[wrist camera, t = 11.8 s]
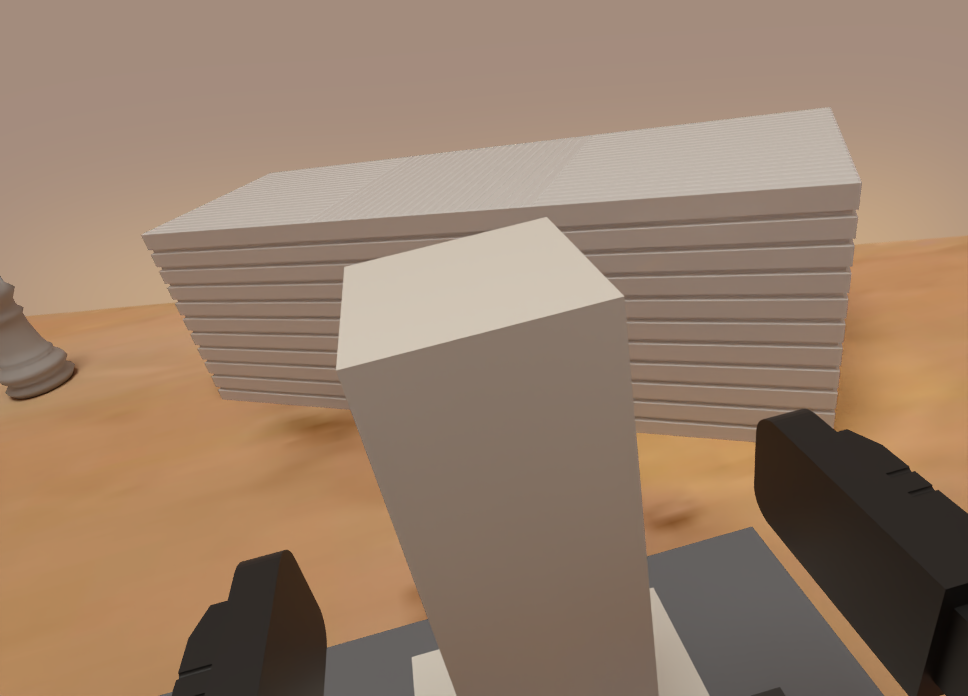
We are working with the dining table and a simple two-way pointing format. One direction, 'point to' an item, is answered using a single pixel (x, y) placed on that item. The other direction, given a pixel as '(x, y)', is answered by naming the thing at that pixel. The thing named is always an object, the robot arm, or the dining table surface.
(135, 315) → the dining table surface
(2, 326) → the rook chess piece
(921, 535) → the robot arm
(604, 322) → the fader tab
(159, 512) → the dining table surface
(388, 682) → the fader console
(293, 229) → the stack of papers
